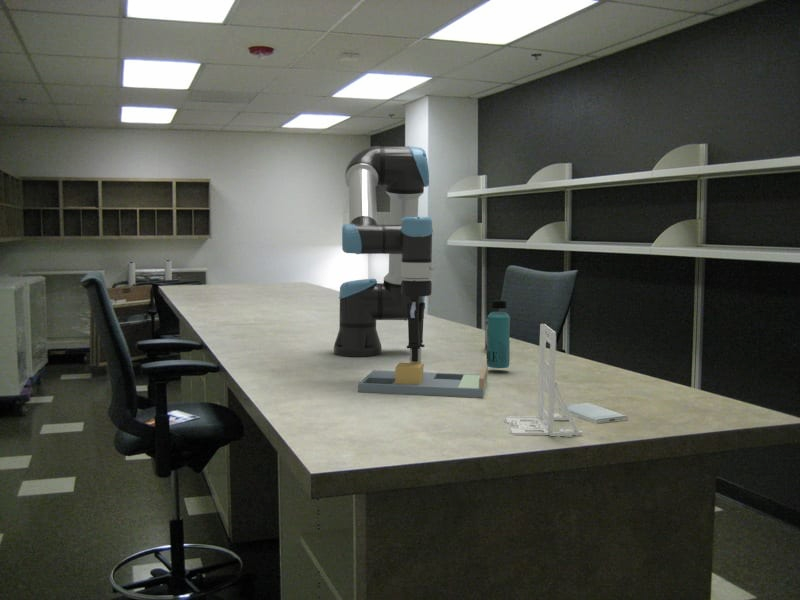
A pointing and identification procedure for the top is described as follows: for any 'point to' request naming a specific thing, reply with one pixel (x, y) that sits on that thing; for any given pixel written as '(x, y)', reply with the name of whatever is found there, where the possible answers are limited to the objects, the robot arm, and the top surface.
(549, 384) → the white bracket stand
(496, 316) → the beverage bottle
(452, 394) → the board
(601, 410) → the hard drive
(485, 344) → the brown semicircular wedge
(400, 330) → the top surface
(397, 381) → the ochre block
